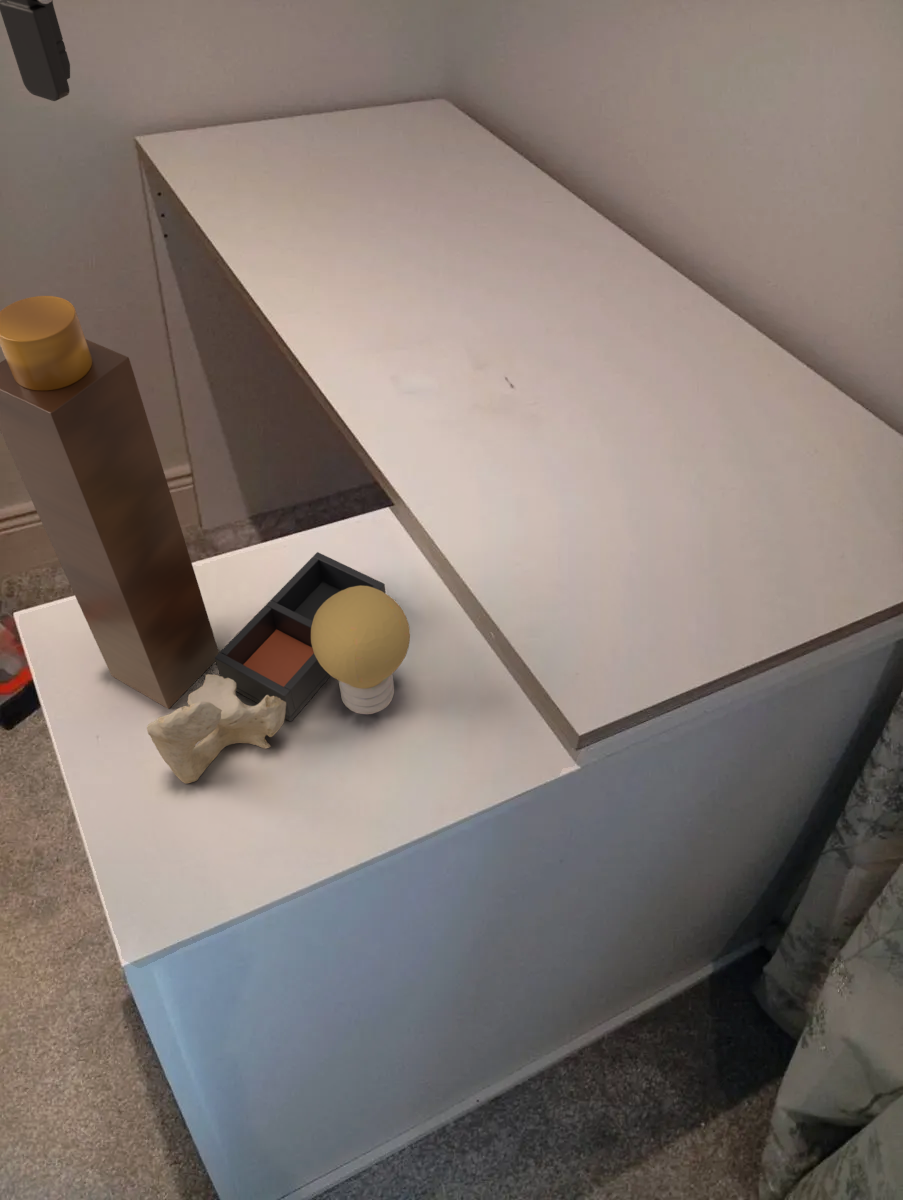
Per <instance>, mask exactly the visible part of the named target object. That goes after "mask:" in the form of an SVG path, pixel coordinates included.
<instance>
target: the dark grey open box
mask: <svg viewBox="0 0 903 1200" xmlns="http://www.w3.org/2000/svg"><path fill="white" fill-rule="evenodd" d="M354 586H369V587H373V588H375V589H378V590H380V591H382V592H384V593H385V594H386V584H385V583H384V582H381V581H379V580H377V579H376V578H373V577H371V576H369V575H367V574H365V573H363V572H361V571H359V570H357V569H354V568H352V567H351V566H349V565H348V566H347V565H346V564H344V563H342V562H339V561H337V560H335V559H333V558H331V557H329V556H327V555H325V554H323V553H321V552H319V551H317V552H316V553H315V554H313V555H312V557H311V558H310V559H309V560H308V561H307V562H306V563H305V564H304V565H303V566H302V567H301V568H300V569H299V570H298V571H297V572H296V573H295V574H294V575H293V576H292V577H291V578H290V579H289V580H288V582H287V583H285V584H284V586H283V587H281V589H279V591H278V592H277V593H276V594H275V595H274V596H273V597H272V598H271V599H270V600H269V601H268V602H267V603H266V604H265V605H264V606H263V607H262V608H261V609H260V610H259V611H258V613H256V615H254V617H253V618H251V619H250V620H249V621H248V623H246V624H245V626H243V628H242V629H241V630H239V631H238V633H237V634H236V635H235V636H234V637H233V638H232V639H231V640H230V641H229V642H228V643H227V644H226V645H225V646H224V647H223V648H222V649H221V650H220V651H219V654H218V655H217V656H216V657H215V664H216V667H217V670H218V673H219V674H218V675H219V676H222V677H223V678H224V679H225V678H230V679H232V680H234V681H235V682H236V693H238V694H239V695H242V696H243V697H245V698H247V699H249V700H251V701H253V702H255V703H256V704H259V703H260V702H261V701H262V700H263V699H264V697H265V696H266V695H269V696H270V697H271V696H274V697H277V698H280V699H281V700H283V701H285V702H286V712H285V719H284V720H286V721H289V722H292V721H293V720H294V719H295V718H296V717H297V715H299V713H300V712H301V711H302V710H303V708H305V706H306V705H307V704H308V703H309V701H311V699H312V698H313V697H314V696H315V695H316V693H317V692H318V691H319V690H320V689H321V688H322V686H323V685H324V684H325V683H326V682H327V681H328V680H329V679H330V677H332V676H331V675H330V674H329V673H327V672H326V671H325V670H324V669H323V667H322V666H321V665H320V664H319V662H318V660H317V658H316V656H315V655H314V651H313V648H312V644H311V626H312V622H313V619H314V616H315V614H316V612H317V610H318V609H319V608H320V606H321V605H322V604H323V603H324V602H325V601H326V600H327V599H329V598H330V597H331V596H333V595H334V594H336V593H338V592H340V591H342V590H344V589H347V588H350V587H354Z"/></svg>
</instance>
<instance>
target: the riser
mask: <svg viewBox="0 0 903 1200" xmlns="http://www.w3.org/2000/svg"><path fill="white" fill-rule="evenodd" d="M85 339H86V342H87V345H88V348H89V351H90V354H91V357H92V365H91V368H90V370H89V371H88V373H87V374H86V375H85V376H84V377H83V378H81V379H80V380H79V381H77V382H75V383H73V384H71V385H69V386H66V387H63V388H60V389H55V390H48V391H37V390H31V389H27V388H25V387H23V386H21V385H20V384H18V383H17V382H16V381H15V379H14V377H13V375H12V372H11V370H10V367H9V365H8V363H7V360H6V358H5V359H3V360H2V361H0V434H1V436H2V439H3V441H4V443H5V445H6V448H7V450H8V451H9V454H10V456H11V459H12V460H13V463H14V465H15V467H16V469H17V471H18V474H19V476H20V478H21V480H22V483H23V485H24V487H25V489H26V491H27V494H28V496H29V498H30V501H31V502H32V505H33V507H34V509H35V511H36V513H37V515H38V517H39V520H40V522H41V524H42V527H43V529H44V531H45V533H46V535H47V537H48V539H49V542H50V544H51V547H52V548H53V550H54V553H55V555H56V557H57V559H58V562H59V564H60V566H61V568H62V571H63V573H64V575H65V577H66V579H67V582H68V584H69V586H70V589H71V590H72V593H73V594H74V597H75V598H76V599H75V600H76V602H77V603H78V605H79V607H80V610H81V612H82V615H83V616H84V619H85V621H86V623H87V625H88V627H89V630H90V632H91V634H92V636H93V639H94V641H95V642H96V643H95V644H96V645H97V648H98V649H99V652H100V653H101V656H102V658H103V660H104V663H105V665H106V667H107V669H108V671H109V673H110V675H111V677H113V678H115V679H116V680H118V681H119V682H121V683H123V684H125V685H126V686H128V687H130V688H132V689H133V690H135V691H137V692H138V693H140V694H141V695H143V696H145V697H147V698H148V699H151V700H152V701H154V702H156V703H157V704H159V705H161V706H163V707H164V708H166V709H168V710H170V708H172V707H173V705H174V704H175V703H176V702H178V700H179V699H180V698H181V697H182V696H183V695H184V694H185V693H186V692H187V691H188V690H189V689H190V688H191V687H192V686H193V685H194V684H195V682H197V681H198V680H199V679H200V677H201V676H202V675H203V674H204V673H206V672H207V670H208V669H209V668H211V666H212V665H213V664H214V663H216V661H215V657H216V656H217V655H218V654H219V653H220V651H219V648H218V645H217V641H216V638H215V635H214V632H213V628H212V625H211V622H210V618H209V615H208V612H207V611H208V610H207V608H206V605H205V602H204V599H203V595H202V592H201V588H200V585H199V582H198V579H197V576H196V572H195V569H194V566H193V562H192V560H191V559H192V558H191V556H190V552H189V549H188V545H187V544H186V539H185V537H184V534H183V529H182V527H181V524H180V520H179V516H178V514H177V510H176V508H175V504H174V500H173V497H172V494H171V491H170V488H169V485H168V480H167V478H166V474H165V471H164V467H163V464H162V461H161V458H160V454H159V451H158V448H157V444H156V441H155V438H154V434H153V431H152V428H151V425H150V422H149V419H148V415H147V411H146V408H145V406H144V402H143V399H142V395H141V392H140V389H139V386H138V382H137V378H136V376H135V373H134V370H133V367H132V363H131V360H130V359H131V358H130V357H129V356H126V355H124V354H122V353H120V352H117V351H115V350H113V349H110V348H108V347H106V346H104V345H101V344H99V343H96V342H95V341H92V340H89V339H87V338H85Z"/></svg>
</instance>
